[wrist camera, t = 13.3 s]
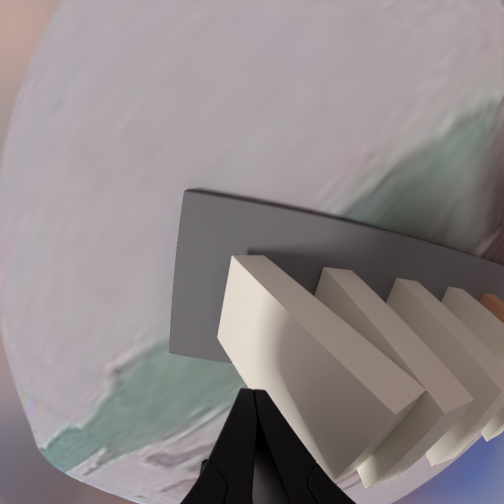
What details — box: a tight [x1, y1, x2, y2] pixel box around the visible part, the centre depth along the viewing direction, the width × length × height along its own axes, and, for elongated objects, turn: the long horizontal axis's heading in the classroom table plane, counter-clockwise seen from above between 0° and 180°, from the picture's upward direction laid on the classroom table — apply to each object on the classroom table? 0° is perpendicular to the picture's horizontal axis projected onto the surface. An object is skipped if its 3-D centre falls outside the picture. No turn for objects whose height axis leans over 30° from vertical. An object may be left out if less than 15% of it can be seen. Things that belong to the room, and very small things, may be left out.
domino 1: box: [217, 255, 426, 483], centre depth 11 cm, size 2×5×10 cm, turn 170°
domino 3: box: [386, 278, 504, 466], centre depth 12 cm, size 2×5×10 cm, turn 169°
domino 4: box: [441, 286, 504, 441], centre depth 12 cm, size 2×5×10 cm, turn 168°
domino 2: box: [314, 267, 474, 489], centre depth 11 cm, size 2×5×10 cm, turn 169°
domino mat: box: [169, 190, 504, 363], centre depth 16 cm, size 10×27×1 cm, turn 79°
